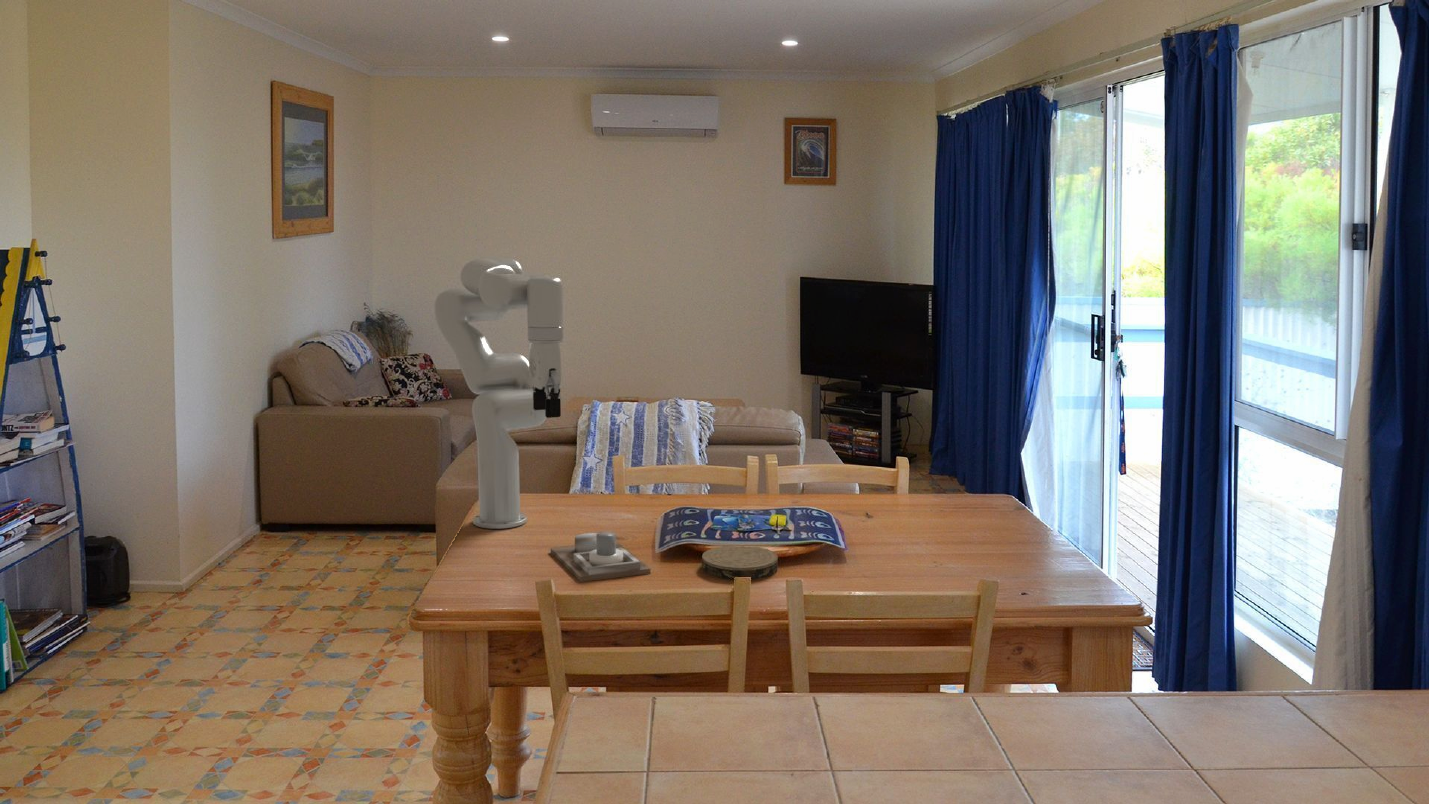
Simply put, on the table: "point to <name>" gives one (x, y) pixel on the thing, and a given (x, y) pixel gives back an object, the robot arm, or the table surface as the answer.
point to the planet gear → (605, 550)
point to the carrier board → (579, 565)
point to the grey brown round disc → (739, 562)
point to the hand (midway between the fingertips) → (546, 413)
